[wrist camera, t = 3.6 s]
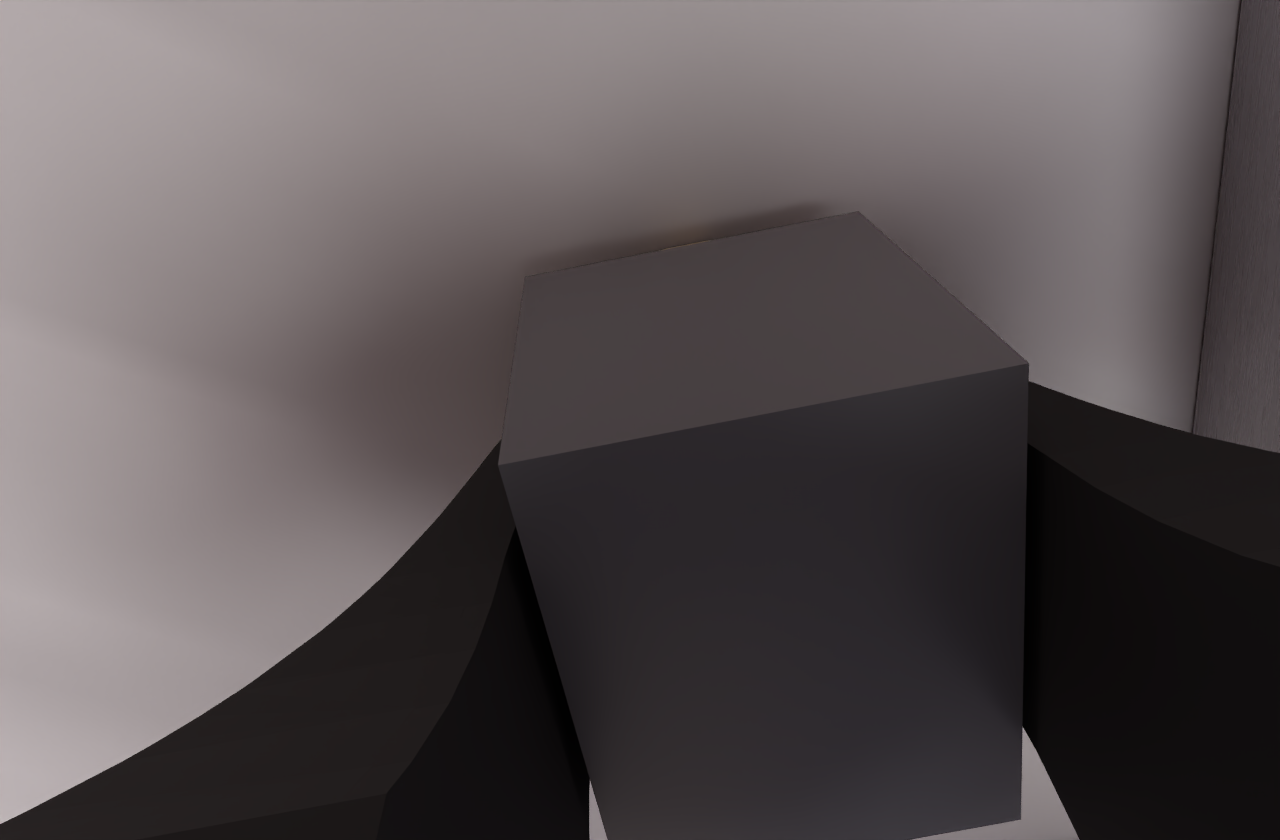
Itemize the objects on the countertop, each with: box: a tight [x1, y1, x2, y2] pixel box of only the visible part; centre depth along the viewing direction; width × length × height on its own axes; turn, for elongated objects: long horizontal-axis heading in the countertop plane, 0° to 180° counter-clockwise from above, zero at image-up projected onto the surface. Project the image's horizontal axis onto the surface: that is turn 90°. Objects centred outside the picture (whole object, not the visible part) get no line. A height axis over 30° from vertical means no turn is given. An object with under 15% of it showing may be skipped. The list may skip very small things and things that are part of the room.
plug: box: [498, 212, 1029, 840], centre depth 10 cm, size 4×5×6 cm
